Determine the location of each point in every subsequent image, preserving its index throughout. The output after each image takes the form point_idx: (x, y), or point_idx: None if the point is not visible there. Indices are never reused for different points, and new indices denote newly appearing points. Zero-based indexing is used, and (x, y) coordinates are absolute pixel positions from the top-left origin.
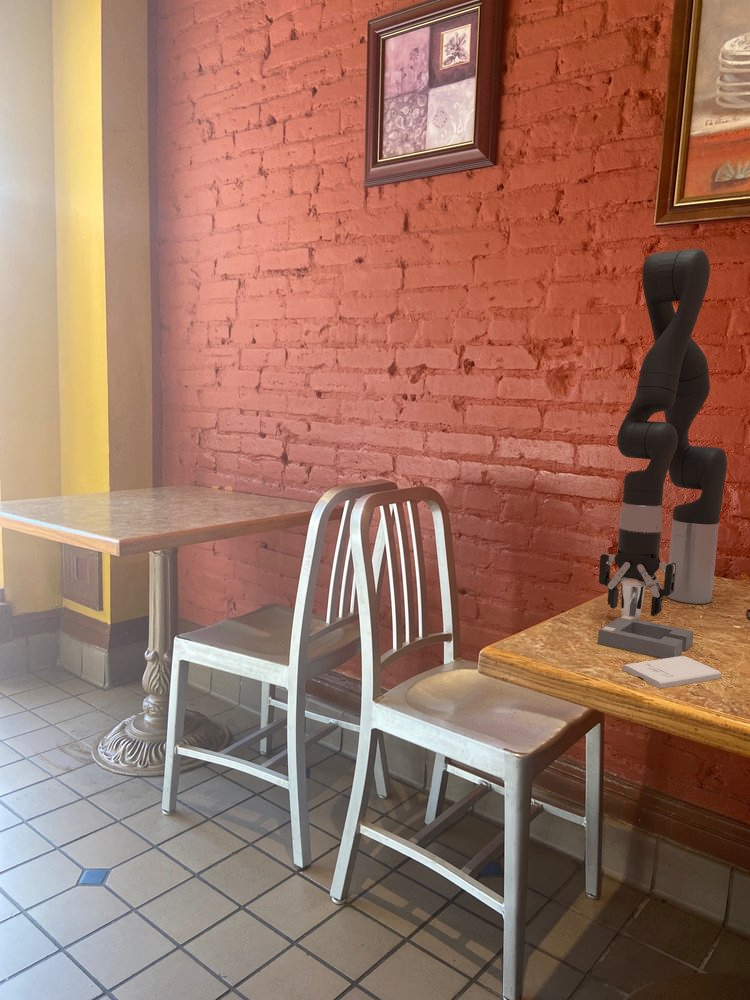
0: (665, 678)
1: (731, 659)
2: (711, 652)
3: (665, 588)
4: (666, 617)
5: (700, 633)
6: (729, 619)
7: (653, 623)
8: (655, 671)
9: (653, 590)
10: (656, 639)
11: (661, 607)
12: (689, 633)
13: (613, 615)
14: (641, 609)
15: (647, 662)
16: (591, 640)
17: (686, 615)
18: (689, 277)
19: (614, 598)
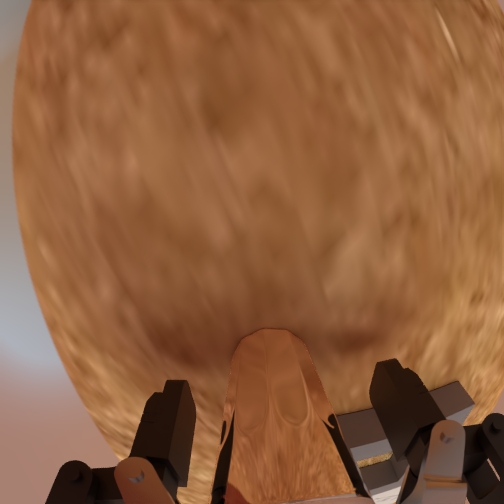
0: (396, 500)
1: (499, 383)
2: (480, 384)
3: (468, 481)
4: (369, 137)
5: (488, 272)
6: (499, 35)
7: (384, 441)
8: (385, 500)
9: (412, 489)
10: (391, 485)
11: (422, 385)
12: (462, 422)
13: (159, 305)
14: (322, 387)
15: (375, 497)
16: None
17: (413, 45)
18: None
19: (190, 449)
